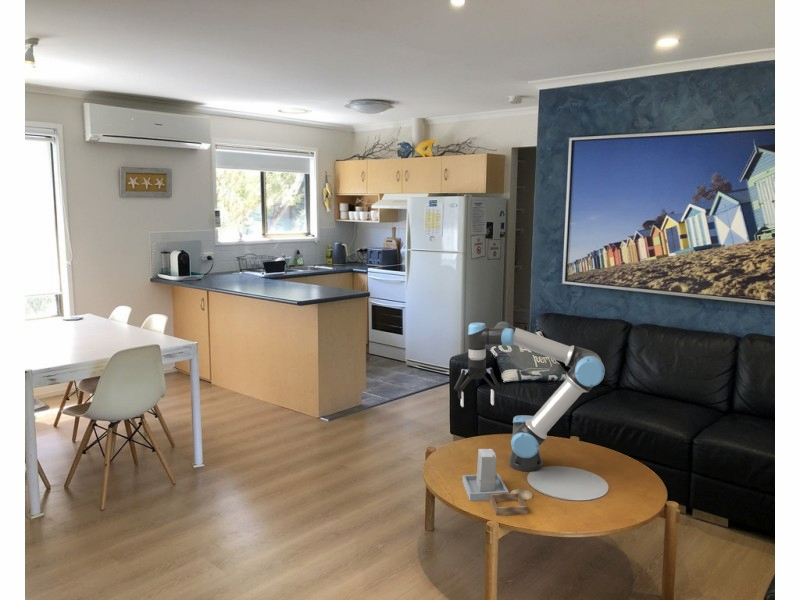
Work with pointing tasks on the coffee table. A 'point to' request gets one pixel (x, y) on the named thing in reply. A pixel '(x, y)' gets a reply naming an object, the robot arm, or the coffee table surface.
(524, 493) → the curved potato chip
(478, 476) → the skincare box
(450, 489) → the coffee table surface
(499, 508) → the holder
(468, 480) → the tray
